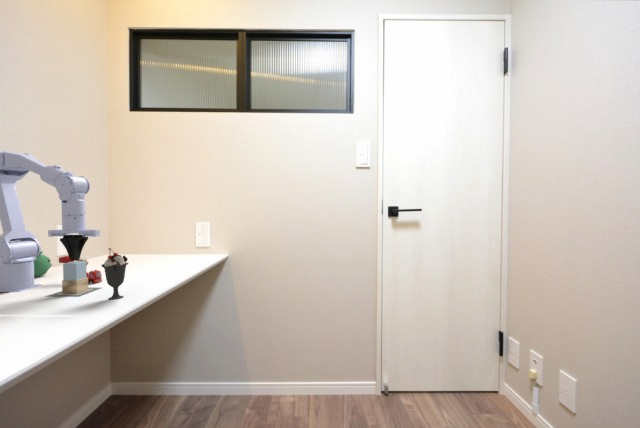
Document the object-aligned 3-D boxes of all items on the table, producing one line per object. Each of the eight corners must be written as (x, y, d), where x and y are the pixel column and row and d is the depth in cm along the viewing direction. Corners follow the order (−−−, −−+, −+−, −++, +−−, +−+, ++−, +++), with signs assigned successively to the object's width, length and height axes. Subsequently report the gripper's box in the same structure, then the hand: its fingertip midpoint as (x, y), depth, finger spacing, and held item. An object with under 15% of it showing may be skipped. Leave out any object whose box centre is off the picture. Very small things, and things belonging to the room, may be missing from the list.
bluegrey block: (73, 277, 100) (73, 261, 100) (86, 277, 100) (86, 261, 100) (63, 280, 96) (62, 263, 96) (76, 280, 96) (76, 263, 96)
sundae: (100, 304, 87) (99, 249, 87) (103, 297, 93) (102, 246, 93) (128, 300, 90) (127, 247, 90) (130, 294, 96) (129, 245, 96)
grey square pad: (45, 297, 93) (45, 296, 93) (72, 288, 103) (72, 287, 103) (79, 297, 93) (79, 296, 93) (103, 288, 103) (103, 287, 103)
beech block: (62, 293, 96) (62, 280, 96) (74, 289, 100) (73, 277, 100) (77, 293, 96) (76, 280, 96) (88, 289, 100) (88, 277, 100)
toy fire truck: (96, 285, 108) (95, 256, 108) (58, 284, 109) (58, 256, 109) (103, 282, 111) (103, 255, 111) (67, 281, 113) (66, 254, 112)
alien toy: (56, 275, 123) (55, 249, 123) (31, 279, 116) (30, 252, 116) (46, 273, 126) (45, 248, 125) (21, 277, 119) (20, 250, 118)
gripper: (38, 216, 94) (39, 262, 94) (87, 216, 93) (88, 262, 94) (58, 215, 101) (59, 258, 101) (104, 215, 100) (105, 258, 101)
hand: (74, 260), depth 98 cm, fingers closed
